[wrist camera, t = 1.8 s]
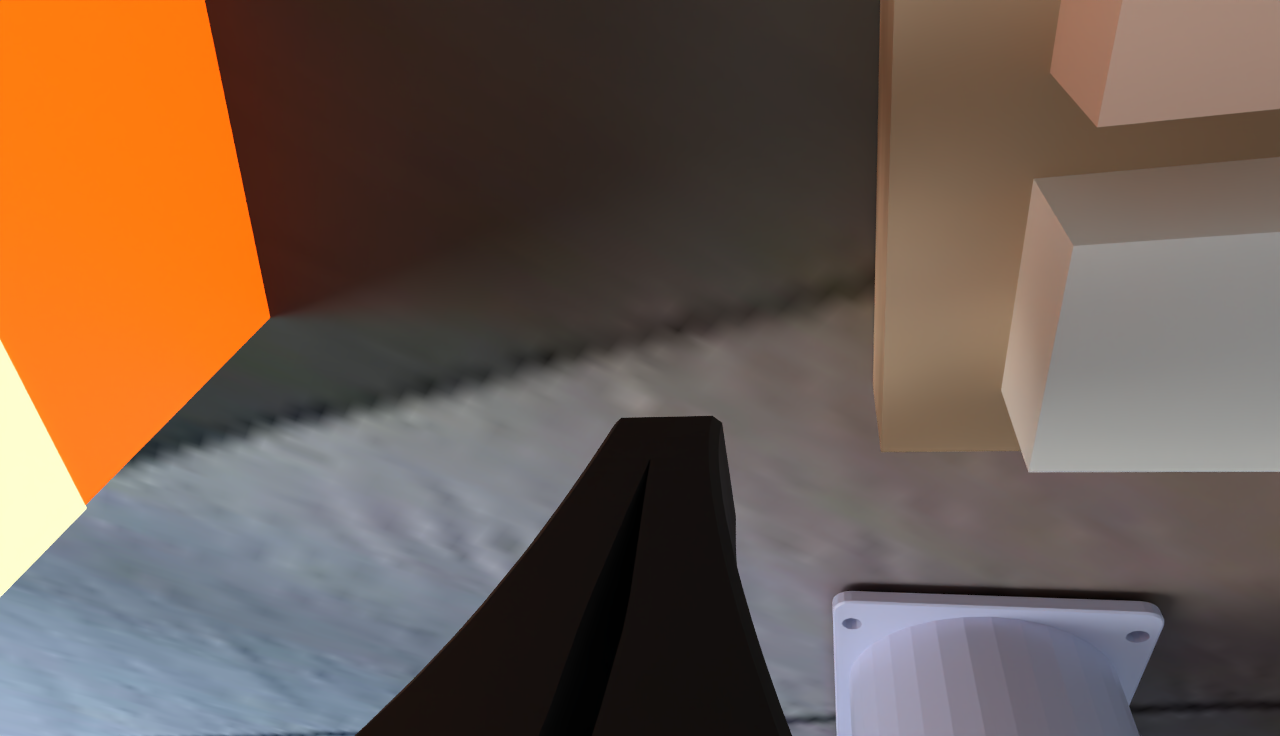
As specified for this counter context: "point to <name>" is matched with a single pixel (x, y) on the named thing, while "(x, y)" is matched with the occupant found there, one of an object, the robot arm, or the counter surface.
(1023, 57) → the flat wooden plank
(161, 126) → the orange juice
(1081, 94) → the terracotta tile
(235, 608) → the counter surface
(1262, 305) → the cream tile
